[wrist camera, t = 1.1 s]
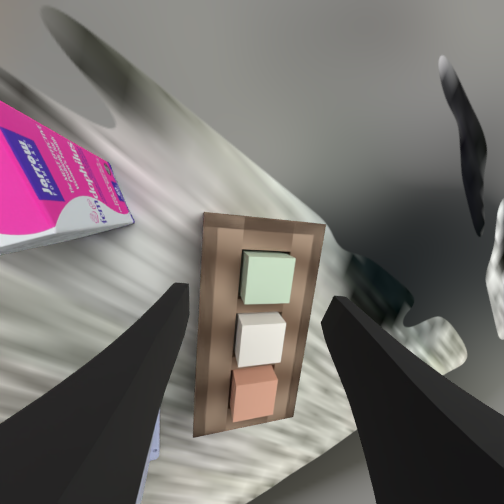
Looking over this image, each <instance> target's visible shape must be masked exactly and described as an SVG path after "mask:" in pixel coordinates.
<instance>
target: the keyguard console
mask: <svg viewBox="0 0 504 504" xmlns="http://www.w3.org/2000/svg"><path fill="white" fill-rule="evenodd" d="M325 227H326V224H317V223H308V222H299V221H289V220H279V219H269V218H259V217H249V216H239V215H229V214H219V213H209V212H204V221H203V240H202V259H201V279H200V298H199V317H198V336H197V356H196V375H195V394H194V423H193V438H194V437H199V436H204V435H209V434H213V433H218V432H223V431H228V430H233V429H237V428H242V427H247V426H252V425H257V424H261V423H266V422H271V421H276V420H281V419H285V418H290V417H293V415H294V409H295V403H296V397H297V391H298V386H299V380H300V374H301V368H302V362H303V356H304V350H305V344H306V339H307V333H308V327H309V321H310V315H311V309H312V303H313V297H314V292H315V286H316V280H317V274H318V268H319V262H320V256H321V250H322V245H323V239H324V233H325ZM242 249H250V250H269V251H282V252H284V253H286V254H288V255H290V256H292V257H294V258H296V260H295V267H294V274H293V281H292V288H291V294H290V301H289V303H277V304H244V302H243V300H242V298H241V296H240V294H239V292H238V288H239V277H240V266H241V255H242ZM258 312H278V313H279V314H280V316H281V317H282V318H283V319H284V321H285V322H286V329H285V335H284V342H283V349H282V356H281V362H279V363H270V364H262V365H254V366H246V367H238V364H237V360H236V356H235V352H234V348H233V342H234V331H235V320H236V313H258ZM268 365H271V366H272V368H273V370H274V372H275V374H276V377H277V379H278V383H277V390H276V397H275V404H274V411H273V415H268V416H263V417H258V418H253V419H248V420H243V421H238V422H233V421H232V414H231V408H230V401H229V386H230V375H231V370H235V369H243V368H251V367H259V366H268Z"/></svg>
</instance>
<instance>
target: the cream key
mask: <svg viewBox="0 0 504 504" xmlns="http://www.w3.org/2000/svg"><path fill="white" fill-rule="evenodd" d="M285 329H286V322H285V321H284V319H283V318H282V317H281V316H280V314H279V313H278V312H258V313H236V320H235V331H234V342H233V348H234V352H235V356H236V360H237V364H238V367H246V366H254V365H262V364H270V363H279V362H281V356H282V349H283V342H284V335H285Z"/></svg>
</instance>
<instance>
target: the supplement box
mask: <svg viewBox="0 0 504 504" xmlns="http://www.w3.org/2000/svg"><path fill="white" fill-rule="evenodd" d="M133 223H135V221H134V219H133V217H132V215H131V213H130V211H129V209H128V207H127V205H126V202H125V200H124V198H123V195H122V193H121V191H120V188H119V186H118V183H117V181H116V179H115V176H114V173H113V171H112V168H111V165H110V164H109V163H108V162H106V161H105V160H103V159H101V158H99V157H98V156H96V155H94V154H92V153H91V152H89V151H87V150H85V149H84V148H82V147H80V146H78V145H76V144H75V143H73V142H71V141H70V140H68V139H66V138H64V137H63V136H61V135H59V134H58V133H56V132H54V131H52V130H51V129H49V128H47V127H45V126H43V125H42V124H40V123H38V122H37V121H35V120H33V119H31V118H30V117H28V116H26V115H24V114H23V113H21V112H19V111H17V110H16V109H14V108H12V107H10V106H9V105H7V104H5V103H3V102H2V101H0V255H3V254H8V253H13V252H17V251H22V250H27V249H31V248H36V247H41V246H46V245H51V244H56V243H60V242H65V241H69V240H73V239H77V238H81V237H85V236H89V235H93V234H96V233H100V232H104V231H108V230H112V229H115V228H119V227H123V226H127V225H130V224H133Z"/></svg>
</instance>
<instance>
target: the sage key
mask: <svg viewBox="0 0 504 504" xmlns="http://www.w3.org/2000/svg"><path fill="white" fill-rule="evenodd" d="M295 260H296V258H294V257H292V256H290V255H288V254H286V253H284V252H282V251H269V250H250V249H242V255H241V266H240V277H239V288H238V292H239V294H240V296H241V298H242V300H243V302H244V304H277V303H289V301H290V294H291V288H292V281H293V274H294V267H295Z"/></svg>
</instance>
